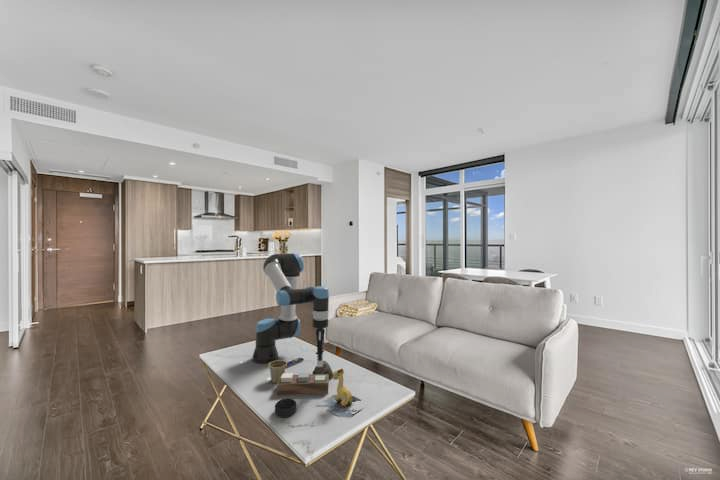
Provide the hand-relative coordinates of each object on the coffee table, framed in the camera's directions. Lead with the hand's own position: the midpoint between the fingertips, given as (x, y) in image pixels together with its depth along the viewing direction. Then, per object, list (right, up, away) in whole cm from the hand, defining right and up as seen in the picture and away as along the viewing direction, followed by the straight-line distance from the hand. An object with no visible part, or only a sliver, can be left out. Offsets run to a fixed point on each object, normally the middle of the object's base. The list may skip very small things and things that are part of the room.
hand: (319, 366), depth 152 cm
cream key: (-16, -6, -2) cm, 17 cm away
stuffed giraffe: (+12, -12, -15) cm, 22 cm away
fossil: (-1, -11, +13) cm, 17 cm away
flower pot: (-23, -11, +8) cm, 27 cm away
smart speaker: (-12, -11, -21) cm, 26 cm away
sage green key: (0, -8, 0) cm, 8 cm away
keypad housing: (-8, -11, -1) cm, 13 cm away
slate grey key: (-8, -6, -1) cm, 10 cm away
